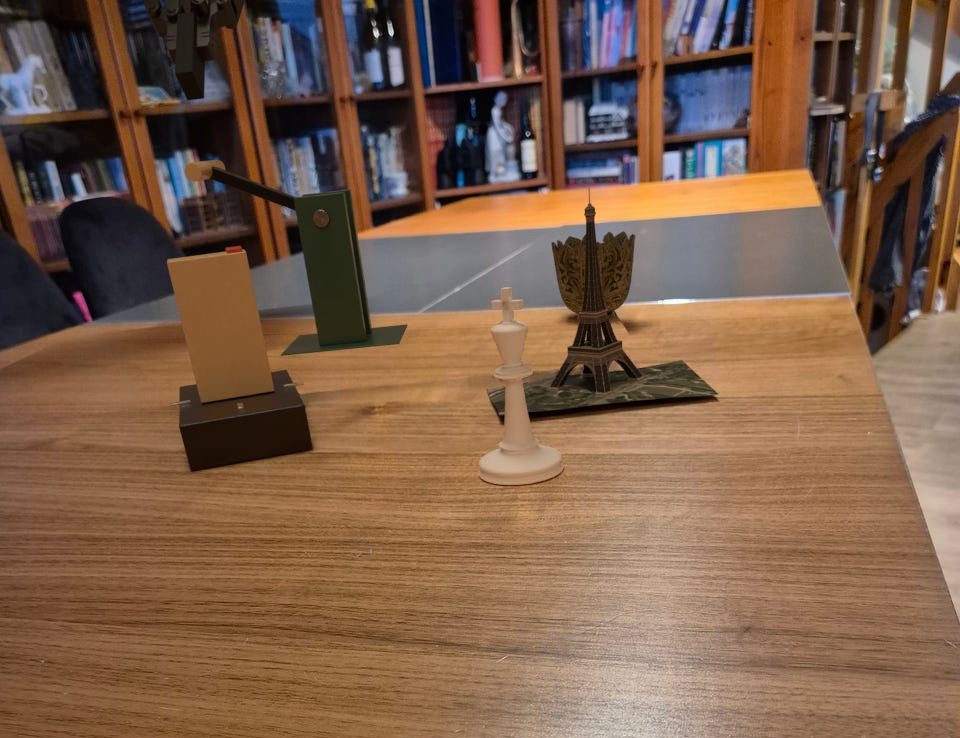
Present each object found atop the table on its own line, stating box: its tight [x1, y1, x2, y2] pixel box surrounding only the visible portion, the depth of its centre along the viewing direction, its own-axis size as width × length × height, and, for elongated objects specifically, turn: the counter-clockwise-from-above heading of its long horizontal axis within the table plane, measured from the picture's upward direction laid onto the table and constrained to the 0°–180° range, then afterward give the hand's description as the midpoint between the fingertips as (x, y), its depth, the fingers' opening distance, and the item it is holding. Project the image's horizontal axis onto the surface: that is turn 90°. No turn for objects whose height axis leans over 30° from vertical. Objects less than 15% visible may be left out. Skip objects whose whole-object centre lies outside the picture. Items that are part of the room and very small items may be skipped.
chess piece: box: [478, 286, 565, 486], centre depth 51 cm, size 5×5×10 cm
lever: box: [184, 159, 296, 212], centre depth 83 cm, size 13×8×2 cm, turn 89°
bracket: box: [280, 188, 408, 357], centre depth 86 cm, size 11×9×14 cm
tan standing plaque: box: [166, 245, 274, 403], centre depth 62 cm, size 5×2×9 cm, turn 106°
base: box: [168, 369, 314, 472], centre depth 65 cm, size 12×9×3 cm
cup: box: [551, 230, 636, 322], centre depth 85 cm, size 8×7×8 cm
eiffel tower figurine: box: [486, 187, 720, 416], centre depth 63 cm, size 15×10×13 cm
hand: (189, 86), depth 79 cm, fingers closed
